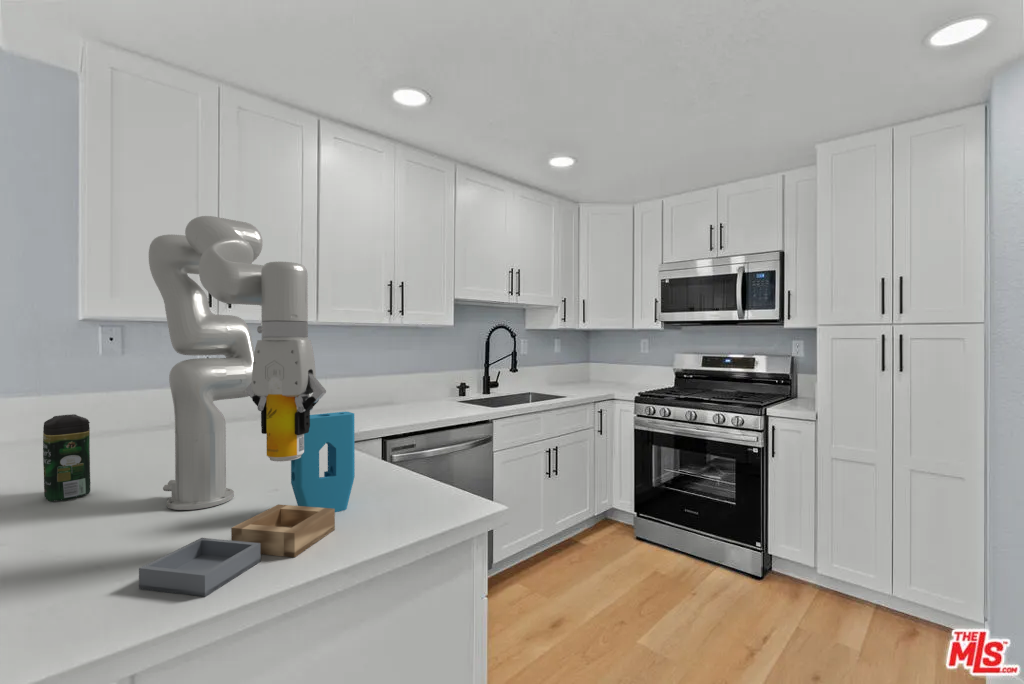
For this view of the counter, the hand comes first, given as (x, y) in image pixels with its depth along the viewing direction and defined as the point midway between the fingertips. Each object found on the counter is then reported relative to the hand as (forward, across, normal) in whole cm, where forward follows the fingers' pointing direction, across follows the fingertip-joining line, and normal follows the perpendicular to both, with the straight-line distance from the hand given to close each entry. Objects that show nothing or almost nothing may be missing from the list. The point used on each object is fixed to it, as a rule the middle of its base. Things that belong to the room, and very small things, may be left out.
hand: (285, 432), depth 88 cm
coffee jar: (+19, -65, +12) cm, 69 cm away
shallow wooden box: (+19, 0, 0) cm, 19 cm away
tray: (+19, -4, -14) cm, 24 cm away
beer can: (+5, 0, 0) cm, 5 cm away
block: (+20, -2, +15) cm, 25 cm away
